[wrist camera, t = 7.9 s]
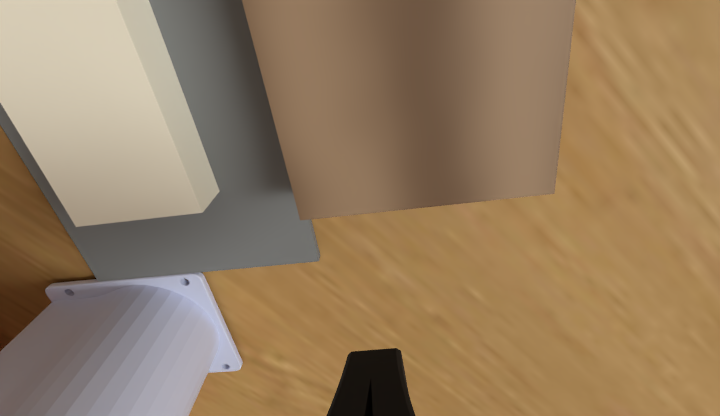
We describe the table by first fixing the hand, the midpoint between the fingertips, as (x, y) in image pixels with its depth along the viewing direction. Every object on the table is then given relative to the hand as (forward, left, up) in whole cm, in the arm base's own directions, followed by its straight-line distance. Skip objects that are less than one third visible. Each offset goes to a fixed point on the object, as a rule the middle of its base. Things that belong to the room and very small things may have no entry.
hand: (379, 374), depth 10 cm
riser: (+2, +6, -9) cm, 12 cm away
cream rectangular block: (-10, +6, -7) cm, 14 cm away
